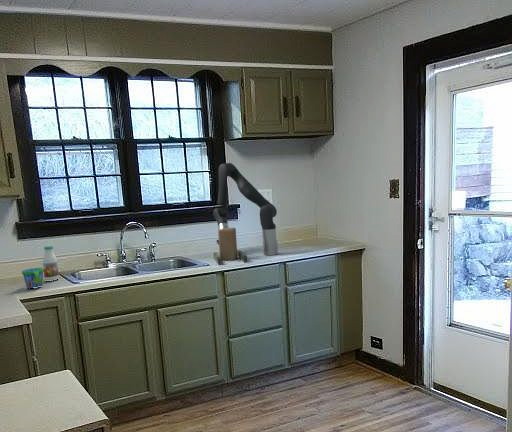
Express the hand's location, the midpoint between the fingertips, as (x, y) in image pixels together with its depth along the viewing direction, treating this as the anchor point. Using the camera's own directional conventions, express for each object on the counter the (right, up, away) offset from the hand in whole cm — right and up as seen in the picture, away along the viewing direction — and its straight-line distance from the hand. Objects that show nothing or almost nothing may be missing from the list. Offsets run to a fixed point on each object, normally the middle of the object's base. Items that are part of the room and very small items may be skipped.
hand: (227, 251), depth 308 cm
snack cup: (-100, -16, -58) cm, 117 cm away
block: (+1, -5, -6) cm, 8 cm away
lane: (+2, -5, -10) cm, 11 cm away
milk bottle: (-99, -14, -40) cm, 108 cm away
